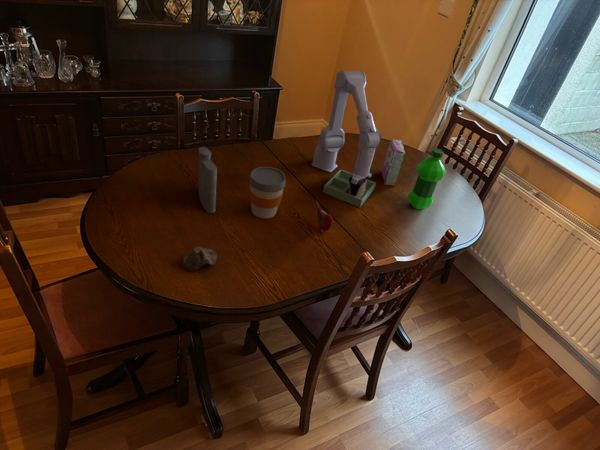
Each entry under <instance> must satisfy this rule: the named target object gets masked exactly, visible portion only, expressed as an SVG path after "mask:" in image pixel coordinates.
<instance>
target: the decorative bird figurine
mask: <svg viewBox="0 0 600 450" xmlns="http://www.w3.org/2000/svg"><path fill="white" fill-rule="evenodd" d="M315 204H316V209H317V210H316V211H317V213H316V214H317V215H316V216H317V222H318V225H319V229H320V231H321V233H322V234H323V235H325V234H324V231H326V232H327V231H330V229H331V227H332V226H333V223H334V218H333V216H332V215H331V214H330V213H329V214H328V213H327V212H326V211H324V210H323V209H322V208H321V207H320V205H319V203H318V200H317V199H315Z"/></svg>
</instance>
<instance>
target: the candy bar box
mask: <svg viewBox="0 0 600 450" xmlns="http://www.w3.org/2000/svg"><path fill="white" fill-rule="evenodd" d="M404 147H405V146H404V144H403V141H402V140H400V139H399V140H398V139H393V138H391V139H390V140H389V144H388V148H387V152H386V156H385V158H384V162H383V165H382V169H381V175H382V179H383V183H384V186H391V187H392V186H393V187H395V186H396V183H397V180H398V178H399V174H400V170H401V169H402V164H403V161H404V158H405V155H406V151H405V148H404Z"/></svg>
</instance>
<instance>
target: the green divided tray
mask: <svg viewBox="0 0 600 450" xmlns="http://www.w3.org/2000/svg"><path fill="white" fill-rule="evenodd" d="M350 177H353V173H351V172H349V171H347V170H343V169H341V168H340V169H339V170H338V171H337V172H336V173H335V174H334V175H333V176H332V177H331V178H330V179H329V180H328V181H327V182H326V183H324V186H323V191H322V193H323V194H326V195H328V196H331V197H333V198H336V199H338V200H341V201H342V202H346V203H348V204H350V205H353V206H356V207H358V208H362V206H363V204H364V203H365V202H366V201H367V199H368V198H369V197H370V196H371V195H372V193H373V192H374V191H375V187H376V184H377V182H374V181H372V180H369V179H367V183H366V186H365V190H364V194H363V197H362V199H360V198H358V197H355V196H353V195H350V194H348V193H349V189H350V183H349V178H350Z"/></svg>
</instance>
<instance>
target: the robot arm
mask: <svg viewBox="0 0 600 450" xmlns="http://www.w3.org/2000/svg"><path fill="white" fill-rule="evenodd" d="M366 77H367V76H366V73H365V72H364V71H363V70H339V71H338V72H336V76H335V81H334V85H333V86H334V87H333V89H335V90H334V95H333V100H332V106H331V109H330V110H331V111H330V116H329V121H328V125H327V126H325V127H324V128H322V129H321V131H320V135H319V136H318V140H317V142H318V144H317V145H316V147H315V149H314V152H313V157H312V163H311V166H312V167H314V168H317V169H320V170H322V171H325V172H327V173H332V172H333V171H334V170H335V169H336V168H338V165H339V164H336V161H337V157H338V153H339V151H340V149H341V148H343V147H344V144H345V134H346V133H345V131H344V129H343V128H342V124H343V120H344V114H345V111H346V106H347V100H348V95H351V96H352V99H353V102H354V105H355V107H356V111H357V114H356V117H355V118H356V123H357V126H358V130H359V134H360V135H359V136H358V153H357V156H356V157H357V158H356V162H355V165H354V168H353V170H352V174H353V177H350V178H349V183H350V192H351V195H353V196H356V195H357V193H358V191H359V189H360V187H361V186H362V185H363V182H360V180H361V179H363V178H365V179H366V180H369V178H371V177H372V173H371V172H370V170H371V166H372V164H373V159H374V156H375V152H376V149H377V148H379V147H380V146H381V144H382V134H381V132H380V131H379V130H378V128H376V126H375V122H374V118H373V117H374V116H373V114H372V112H370V111H369V110H368V103H367V97H366V91H365V88H366V85H367V78H366Z"/></svg>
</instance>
